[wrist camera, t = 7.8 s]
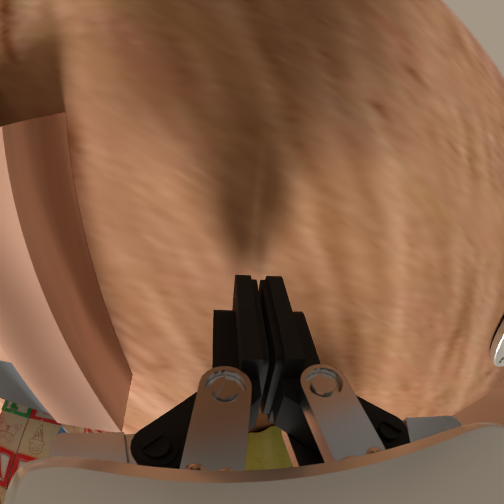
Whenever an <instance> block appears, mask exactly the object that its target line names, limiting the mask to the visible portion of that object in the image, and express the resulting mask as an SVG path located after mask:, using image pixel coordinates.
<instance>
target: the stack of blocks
mask: <svg viewBox="0 0 504 504" xmlns="http://www.w3.org/2000/svg"><path fill="white" fill-rule="evenodd" d="M61 433H102V432H101V431H100V430H96V429H89V428H83V427H77V426H72V425H67V424H62V423H58V422H57V421H56V420H55V419H54V418H53V417H52V416H51V414H50V413H46V412H42V411H39V410H35V409H32V408H29V407H26V406H22V405H19V404H16V403H13V402H11V401H8V400H5V402H4V405H3V407H2V412H1V414H0V504H3V502H4V499H5V495H6V492H7V489H8V486H9V484H10V482H11V479H12V477H13V476H14V474H15V472H16V471H17V470H18V469H19V468H20V467H21V466H22V465H23V464H25V463H27V462H29V461H32V460H36V459H40V458H46V457H49V448H50V443H51V441H52V440H53V439H54V437H56V436H57V435H59V434H61Z"/></svg>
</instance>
